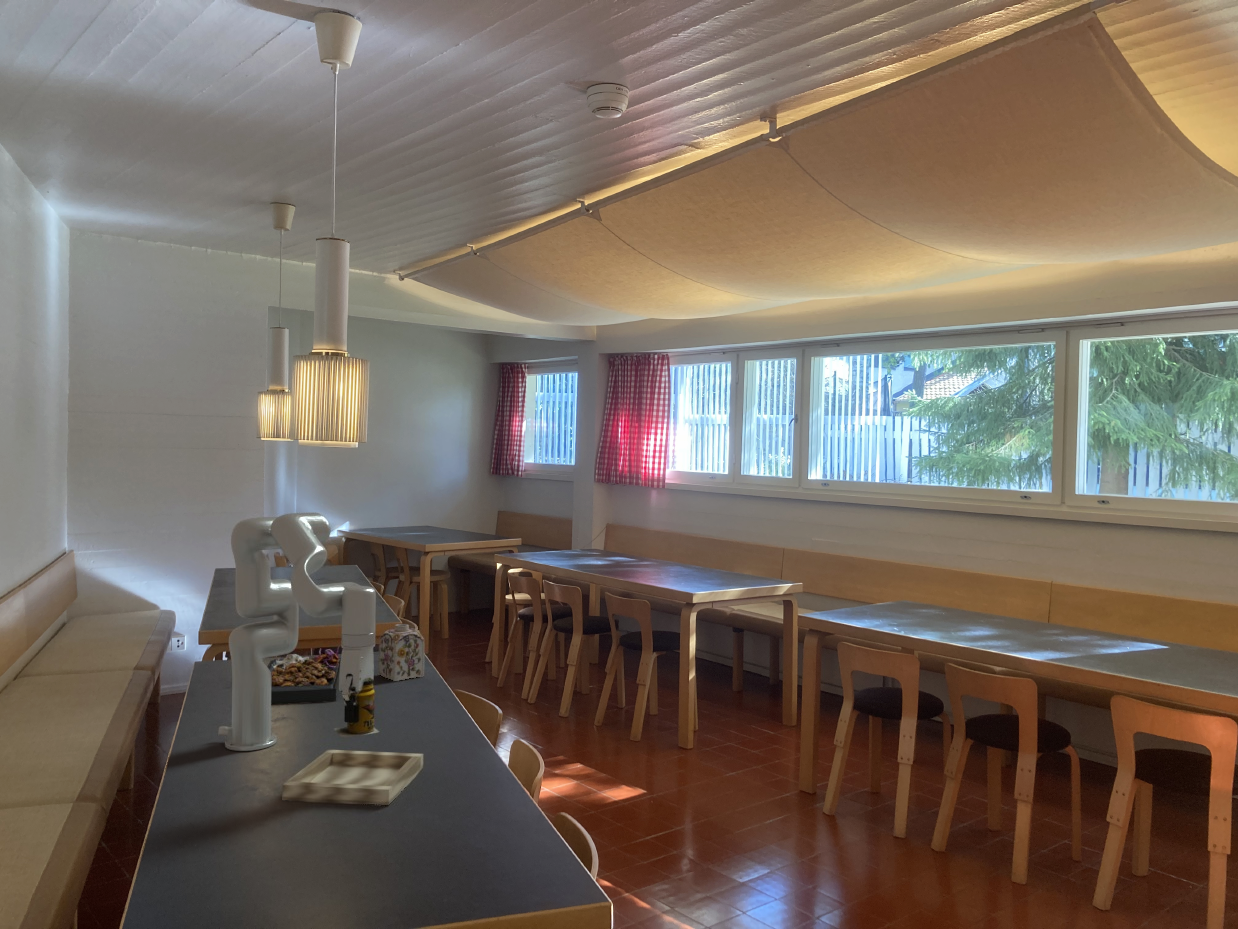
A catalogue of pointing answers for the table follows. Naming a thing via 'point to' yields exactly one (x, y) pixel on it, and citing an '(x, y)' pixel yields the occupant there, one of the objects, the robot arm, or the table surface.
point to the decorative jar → (401, 653)
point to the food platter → (305, 678)
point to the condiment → (362, 713)
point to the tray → (353, 777)
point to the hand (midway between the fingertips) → (357, 717)
